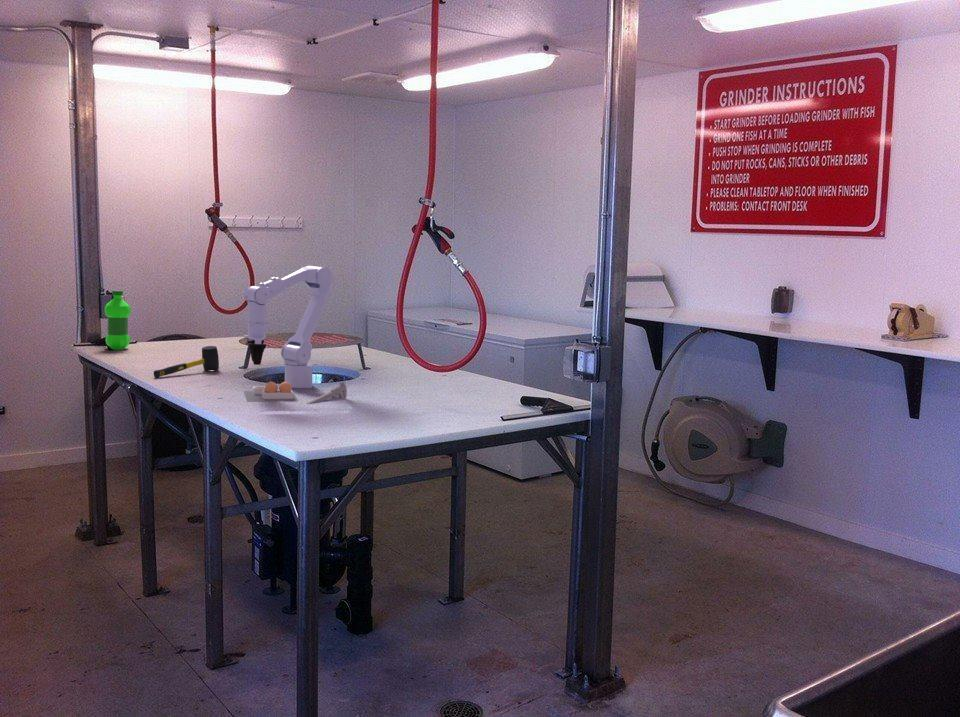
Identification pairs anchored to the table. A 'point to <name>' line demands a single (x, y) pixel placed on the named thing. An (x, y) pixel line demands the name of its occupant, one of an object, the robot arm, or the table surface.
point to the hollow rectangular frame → (277, 395)
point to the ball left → (285, 387)
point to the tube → (258, 389)
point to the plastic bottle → (117, 321)
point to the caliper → (332, 393)
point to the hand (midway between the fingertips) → (256, 362)
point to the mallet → (194, 362)
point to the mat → (258, 397)
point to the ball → (271, 387)
